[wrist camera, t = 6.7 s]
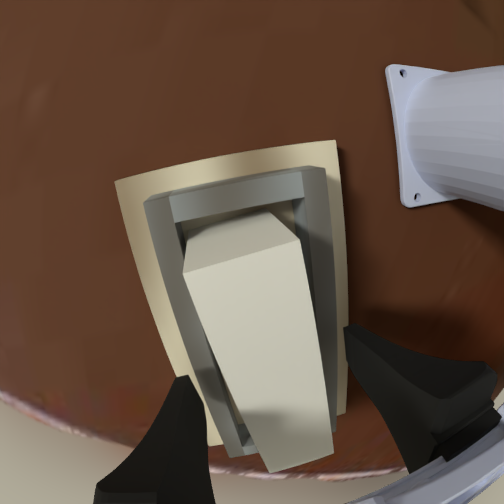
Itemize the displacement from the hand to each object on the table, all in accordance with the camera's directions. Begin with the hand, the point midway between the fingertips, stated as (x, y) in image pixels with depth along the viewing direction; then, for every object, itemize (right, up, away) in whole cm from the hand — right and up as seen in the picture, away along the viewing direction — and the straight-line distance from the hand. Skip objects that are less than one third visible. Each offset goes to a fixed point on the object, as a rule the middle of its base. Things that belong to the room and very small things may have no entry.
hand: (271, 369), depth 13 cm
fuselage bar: (0, +1, +3) cm, 3 cm away
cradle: (-1, +1, +4) cm, 4 cm away
